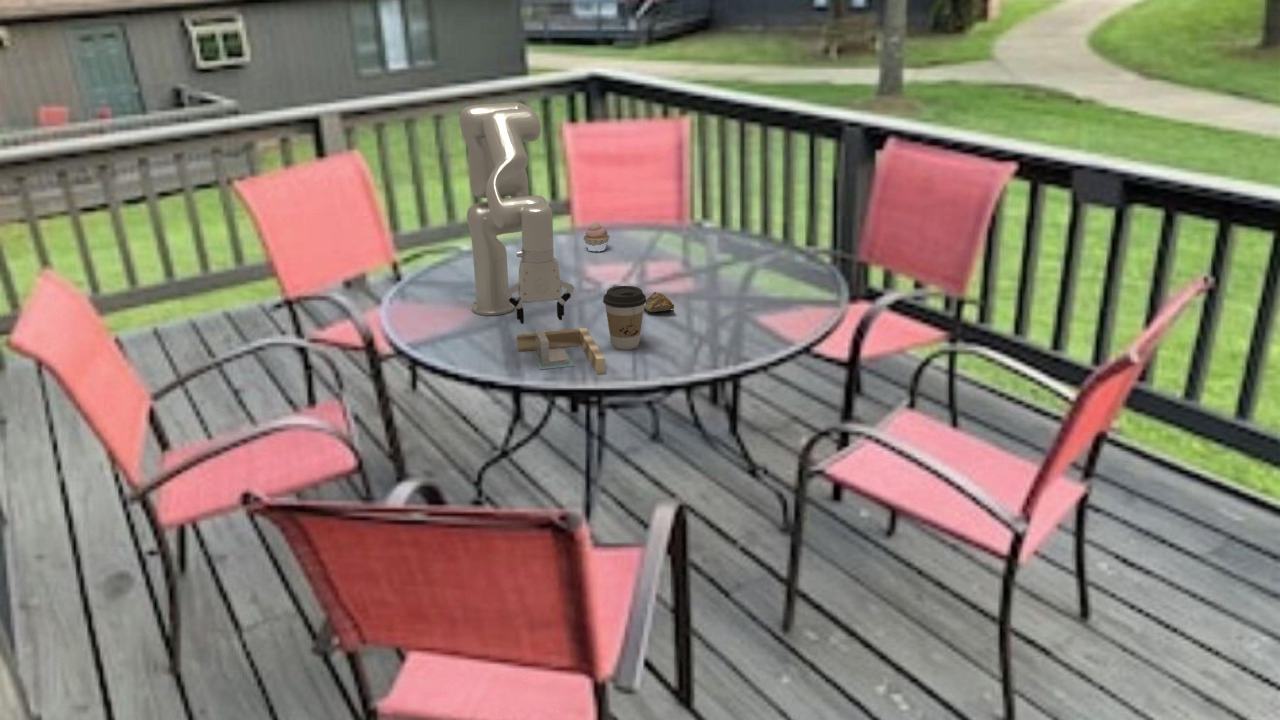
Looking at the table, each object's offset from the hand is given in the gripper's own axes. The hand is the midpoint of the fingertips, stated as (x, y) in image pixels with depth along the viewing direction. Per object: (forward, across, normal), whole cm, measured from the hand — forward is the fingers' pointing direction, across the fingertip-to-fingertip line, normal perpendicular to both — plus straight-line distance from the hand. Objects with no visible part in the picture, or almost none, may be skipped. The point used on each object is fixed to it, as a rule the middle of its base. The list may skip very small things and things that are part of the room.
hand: (540, 320), depth 249 cm
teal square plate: (+11, +3, -1) cm, 12 cm away
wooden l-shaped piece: (+11, +4, -1) cm, 12 cm away
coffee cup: (+12, +23, +5) cm, 26 cm away
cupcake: (+14, +36, +93) cm, 101 cm away
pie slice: (+12, +39, +30) cm, 51 cm away
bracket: (+11, +3, -1) cm, 11 cm away
